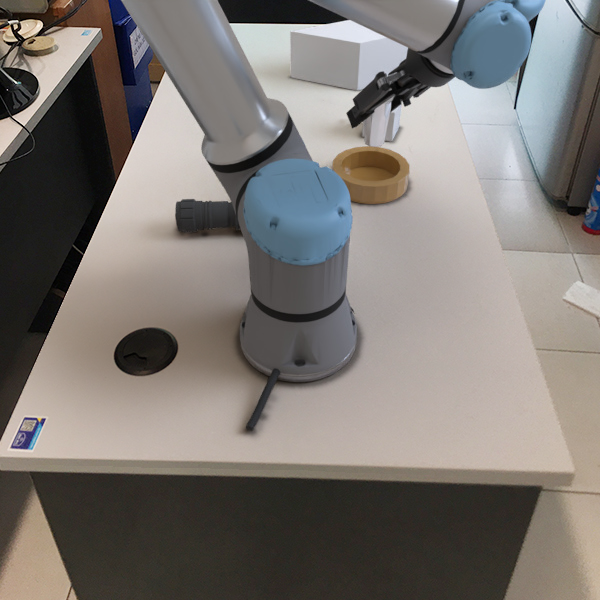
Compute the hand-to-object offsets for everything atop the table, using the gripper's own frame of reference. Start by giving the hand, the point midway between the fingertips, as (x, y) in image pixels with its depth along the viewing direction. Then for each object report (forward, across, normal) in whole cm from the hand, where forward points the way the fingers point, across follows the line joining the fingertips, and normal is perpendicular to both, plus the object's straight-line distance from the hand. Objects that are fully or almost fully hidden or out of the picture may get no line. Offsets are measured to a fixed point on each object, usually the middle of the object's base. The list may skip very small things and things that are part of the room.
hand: (364, 116), depth 104 cm
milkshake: (0, 0, -5) cm, 5 cm away
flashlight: (+7, -27, -10) cm, 30 cm away
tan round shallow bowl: (+6, 0, -10) cm, 12 cm away
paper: (+33, +24, +17) cm, 44 cm away
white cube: (+16, +13, 0) cm, 21 cm away
